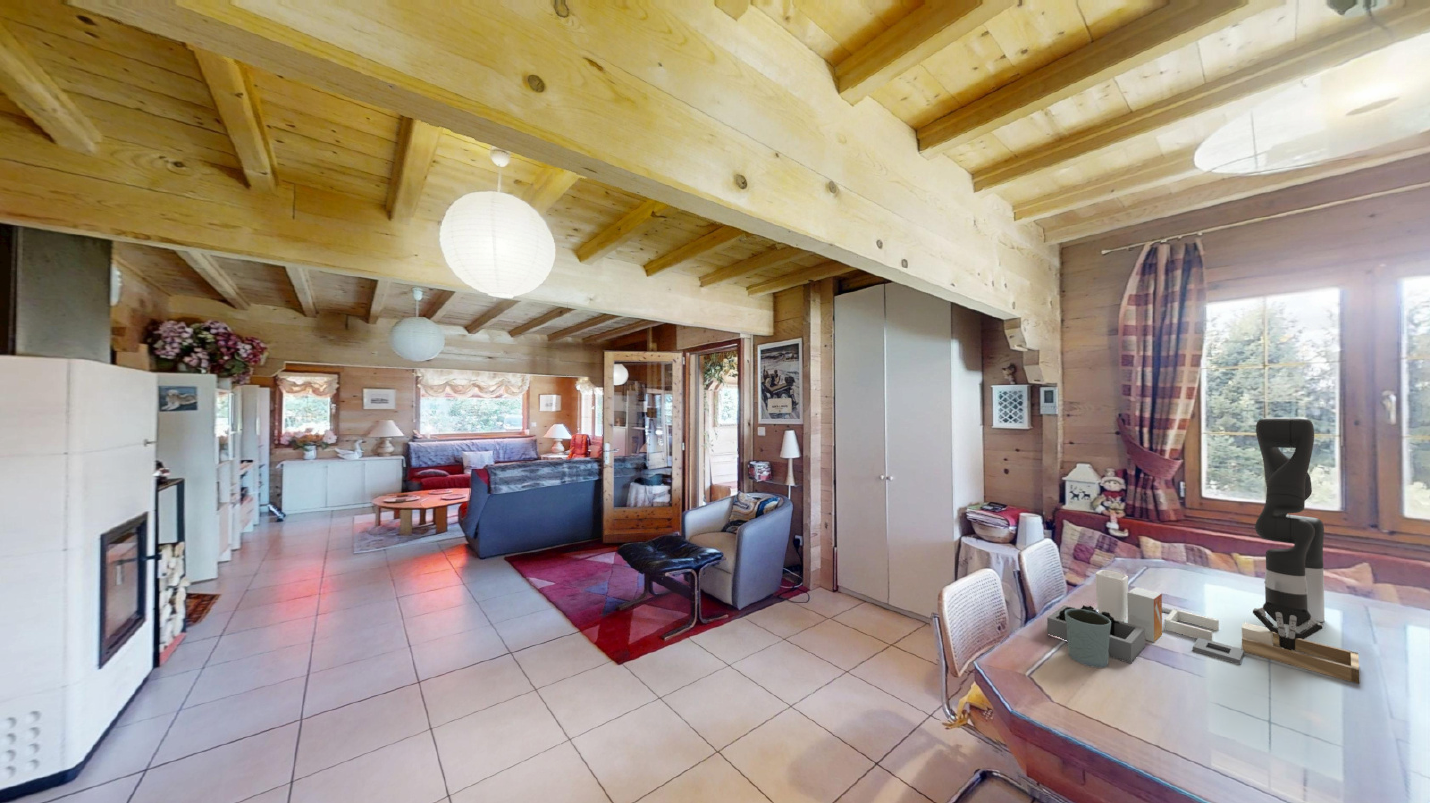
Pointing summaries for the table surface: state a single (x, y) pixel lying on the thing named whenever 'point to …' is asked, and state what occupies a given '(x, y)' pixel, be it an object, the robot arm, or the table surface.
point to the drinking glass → (1088, 637)
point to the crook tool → (1166, 610)
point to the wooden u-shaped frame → (1309, 657)
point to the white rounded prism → (1112, 593)
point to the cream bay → (1189, 630)
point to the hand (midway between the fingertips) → (1287, 649)
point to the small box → (1146, 611)
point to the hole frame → (1218, 650)
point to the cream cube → (1257, 633)
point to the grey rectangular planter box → (1120, 646)
